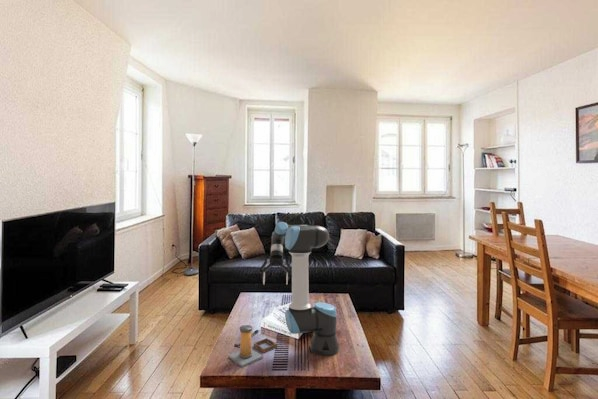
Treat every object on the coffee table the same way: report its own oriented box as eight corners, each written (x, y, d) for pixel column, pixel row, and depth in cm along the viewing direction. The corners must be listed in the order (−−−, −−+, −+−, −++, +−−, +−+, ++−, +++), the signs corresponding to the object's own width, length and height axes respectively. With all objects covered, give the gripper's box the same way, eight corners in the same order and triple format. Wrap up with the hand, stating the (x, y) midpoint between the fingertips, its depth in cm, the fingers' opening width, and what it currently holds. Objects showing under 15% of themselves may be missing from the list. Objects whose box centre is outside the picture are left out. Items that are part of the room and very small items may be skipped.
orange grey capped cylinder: (254, 355, 160) (254, 328, 160) (244, 360, 156) (244, 331, 156) (247, 351, 165) (247, 324, 164) (237, 355, 160) (237, 327, 160)
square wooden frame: (277, 347, 171) (277, 343, 171) (264, 352, 165) (264, 349, 165) (266, 341, 178) (266, 337, 178) (253, 346, 172) (253, 343, 172)
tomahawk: (243, 351, 169) (243, 349, 168) (233, 347, 172) (233, 345, 171) (265, 334, 187) (265, 332, 187) (256, 330, 190) (256, 329, 190)
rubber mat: (262, 358, 160) (262, 356, 160) (242, 367, 152) (242, 365, 152) (248, 349, 169) (248, 347, 169) (228, 357, 160) (228, 355, 160)
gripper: (296, 256, 208) (296, 286, 194) (257, 255, 207) (254, 286, 193) (296, 249, 202) (296, 280, 188) (256, 249, 202) (253, 280, 187)
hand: (275, 283), depth 191 cm, fingers open, 13 cm apart
